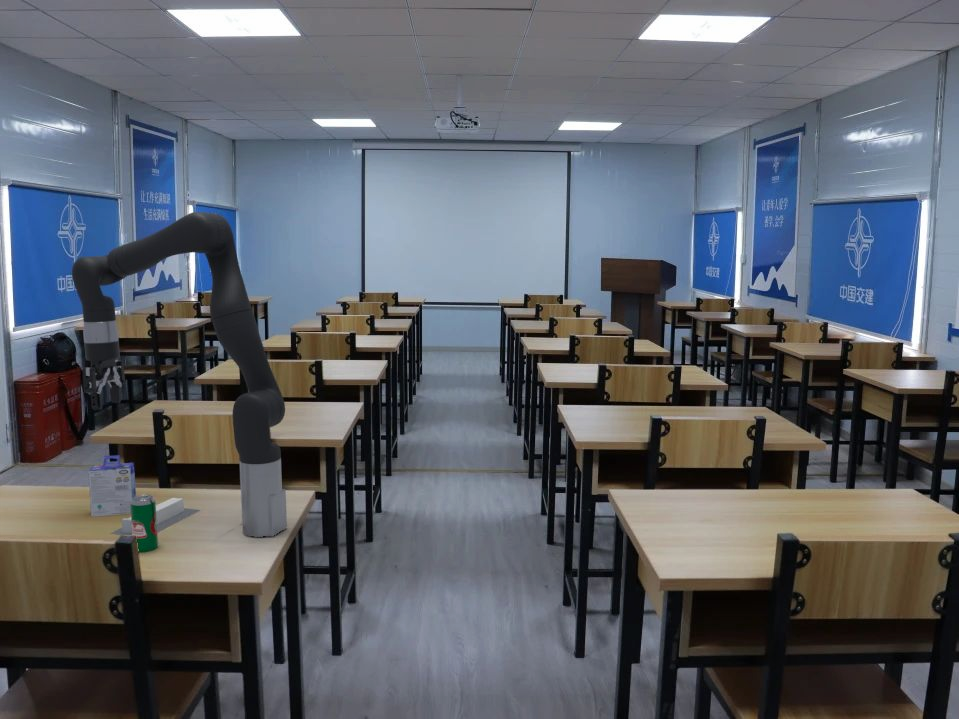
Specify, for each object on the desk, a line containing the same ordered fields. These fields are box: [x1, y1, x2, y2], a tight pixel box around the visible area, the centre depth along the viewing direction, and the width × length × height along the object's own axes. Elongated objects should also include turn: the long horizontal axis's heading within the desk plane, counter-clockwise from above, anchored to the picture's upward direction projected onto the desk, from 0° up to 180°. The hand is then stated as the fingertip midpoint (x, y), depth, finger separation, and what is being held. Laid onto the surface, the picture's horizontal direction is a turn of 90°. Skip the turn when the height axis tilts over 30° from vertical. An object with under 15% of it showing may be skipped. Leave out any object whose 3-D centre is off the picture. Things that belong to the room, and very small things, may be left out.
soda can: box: [130, 494, 159, 553], centre depth 173 cm, size 5×5×12 cm
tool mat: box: [109, 507, 201, 536], centre depth 190 cm, size 10×20×1 cm, turn 163°
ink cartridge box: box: [87, 454, 137, 517], centre depth 197 cm, size 10×6×14 cm, turn 105°
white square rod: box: [121, 497, 185, 534], centre depth 190 cm, size 5×17×3 cm, turn 163°
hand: (106, 406), depth 193 cm, fingers open, 8 cm apart
